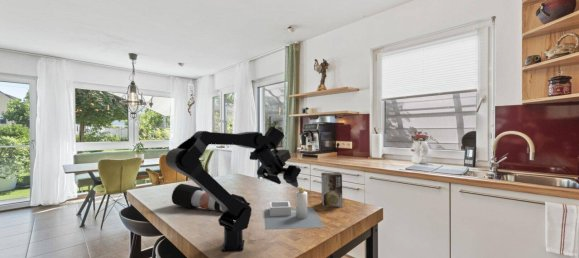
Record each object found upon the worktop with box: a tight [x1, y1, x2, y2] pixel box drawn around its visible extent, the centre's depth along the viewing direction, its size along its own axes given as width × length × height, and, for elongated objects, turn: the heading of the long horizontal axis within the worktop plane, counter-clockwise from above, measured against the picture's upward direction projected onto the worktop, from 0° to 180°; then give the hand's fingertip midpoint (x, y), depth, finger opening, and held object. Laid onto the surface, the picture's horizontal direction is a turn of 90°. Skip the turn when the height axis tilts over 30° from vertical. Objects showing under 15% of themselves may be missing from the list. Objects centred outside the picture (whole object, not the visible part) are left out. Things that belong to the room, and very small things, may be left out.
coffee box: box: [320, 172, 343, 209], centre depth 123 cm, size 9×6×16 cm
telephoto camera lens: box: [171, 183, 224, 213], centre depth 119 cm, size 10×34×10 cm, turn 68°
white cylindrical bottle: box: [295, 186, 308, 219], centre depth 105 cm, size 5×5×12 cm
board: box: [264, 200, 326, 230], centre depth 105 cm, size 24×22×5 cm
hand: (288, 184), depth 100 cm, fingers open, 9 cm apart
